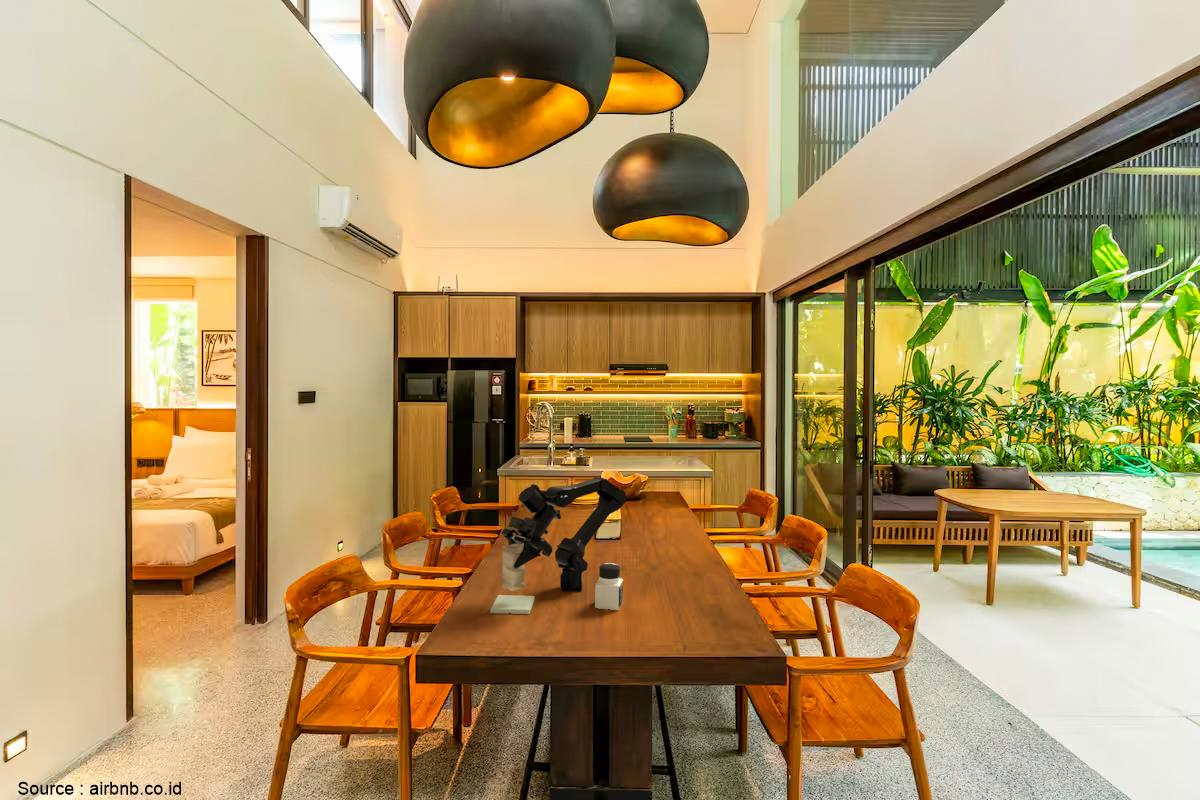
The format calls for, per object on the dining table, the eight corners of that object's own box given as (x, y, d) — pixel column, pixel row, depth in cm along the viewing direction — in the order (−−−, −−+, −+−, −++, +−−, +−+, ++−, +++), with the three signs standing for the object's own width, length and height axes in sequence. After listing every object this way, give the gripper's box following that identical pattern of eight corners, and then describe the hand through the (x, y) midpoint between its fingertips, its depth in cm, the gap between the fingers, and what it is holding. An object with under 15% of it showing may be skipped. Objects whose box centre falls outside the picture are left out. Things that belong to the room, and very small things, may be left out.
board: (534, 599, 174) (534, 595, 174) (529, 613, 163) (529, 609, 163) (498, 599, 174) (498, 595, 174) (490, 613, 163) (490, 608, 163)
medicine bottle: (619, 610, 166) (619, 569, 166) (594, 608, 168) (595, 567, 168) (623, 602, 173) (623, 562, 173) (599, 600, 175) (600, 560, 175)
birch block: (515, 583, 172) (515, 543, 172) (524, 587, 169) (524, 546, 169) (502, 587, 169) (502, 546, 169) (511, 591, 166) (511, 549, 165)
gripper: (506, 501, 178) (475, 543, 170) (544, 510, 164) (512, 557, 157) (527, 522, 183) (497, 564, 176) (565, 533, 170) (535, 579, 163)
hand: (509, 565), depth 168 cm, fingers closed on birch block, 5 cm apart
